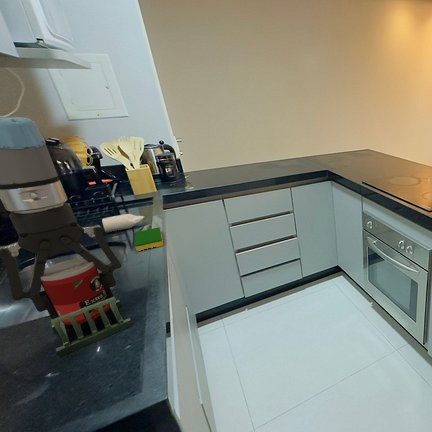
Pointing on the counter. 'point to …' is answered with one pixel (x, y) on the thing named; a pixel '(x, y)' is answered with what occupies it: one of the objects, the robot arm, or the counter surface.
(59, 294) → the canned food
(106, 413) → the counter surface
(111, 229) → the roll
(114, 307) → the drying rack
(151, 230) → the dish sponge
